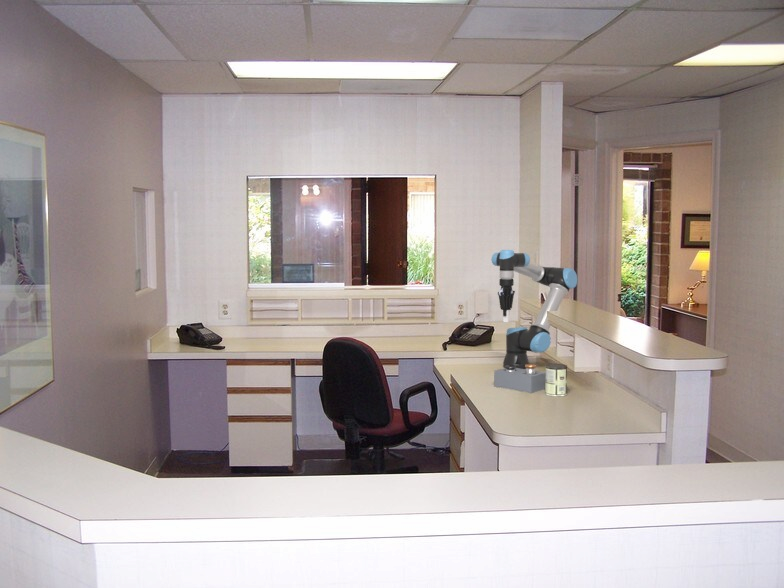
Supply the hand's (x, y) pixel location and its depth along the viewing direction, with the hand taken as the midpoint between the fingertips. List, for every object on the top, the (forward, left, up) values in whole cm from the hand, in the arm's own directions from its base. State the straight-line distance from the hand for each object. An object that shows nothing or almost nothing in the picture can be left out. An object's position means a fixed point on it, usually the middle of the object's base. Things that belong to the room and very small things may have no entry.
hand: (506, 321), depth 387 cm
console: (+20, +23, -29) cm, 42 cm away
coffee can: (+21, +44, -30) cm, 57 cm away
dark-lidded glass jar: (+20, +17, -28) cm, 38 cm away
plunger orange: (+20, +29, -26) cm, 44 cm away
